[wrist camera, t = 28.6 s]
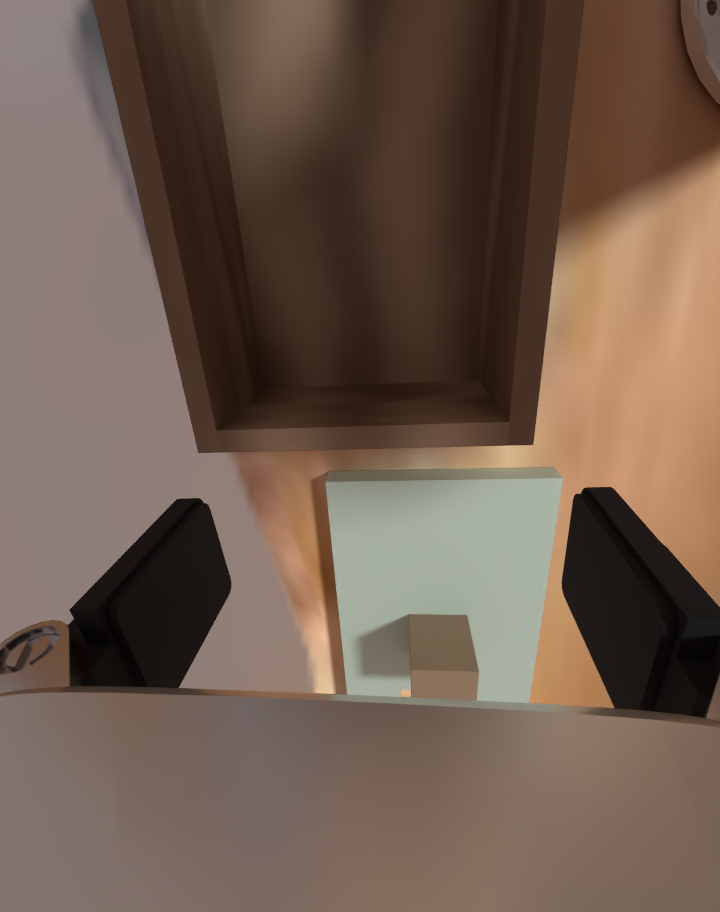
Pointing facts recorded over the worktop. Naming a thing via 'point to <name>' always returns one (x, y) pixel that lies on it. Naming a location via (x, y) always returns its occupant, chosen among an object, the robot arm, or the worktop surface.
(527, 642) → the lid
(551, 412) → the worktop surface
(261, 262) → the brown open box
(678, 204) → the worktop surface
